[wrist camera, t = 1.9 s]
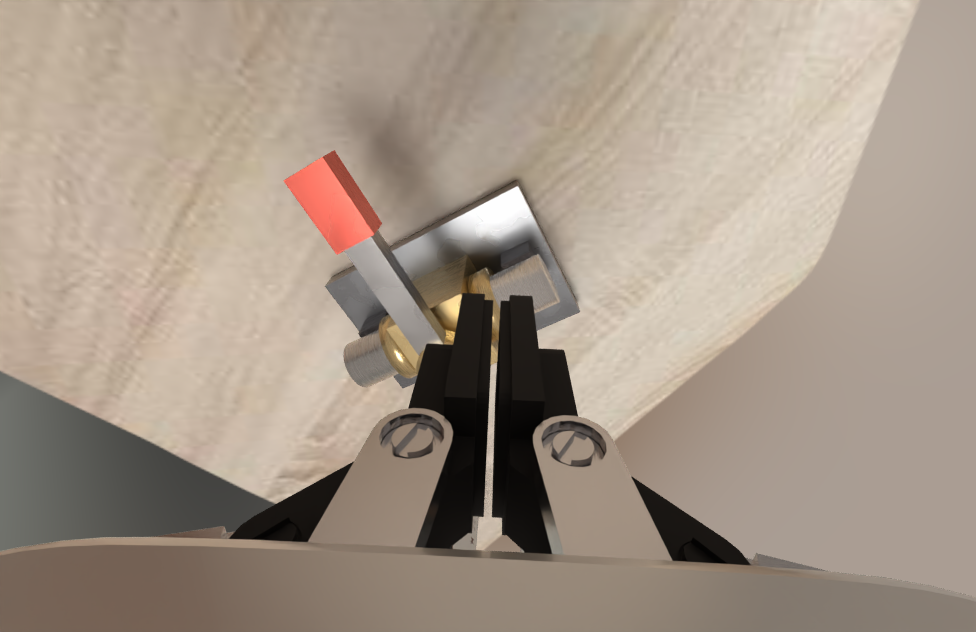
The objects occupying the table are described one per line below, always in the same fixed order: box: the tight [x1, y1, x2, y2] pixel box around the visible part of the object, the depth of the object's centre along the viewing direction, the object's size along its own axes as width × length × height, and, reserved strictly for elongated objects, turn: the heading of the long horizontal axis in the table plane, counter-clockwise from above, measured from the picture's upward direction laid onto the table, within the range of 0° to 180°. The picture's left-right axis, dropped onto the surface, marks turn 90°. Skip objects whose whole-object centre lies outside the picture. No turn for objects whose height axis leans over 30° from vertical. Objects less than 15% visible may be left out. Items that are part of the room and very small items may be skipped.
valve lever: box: [284, 150, 455, 374], centre depth 24 cm, size 13×3×2 cm, turn 28°
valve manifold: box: [325, 181, 580, 388], centre depth 31 cm, size 10×15×8 cm, turn 118°
